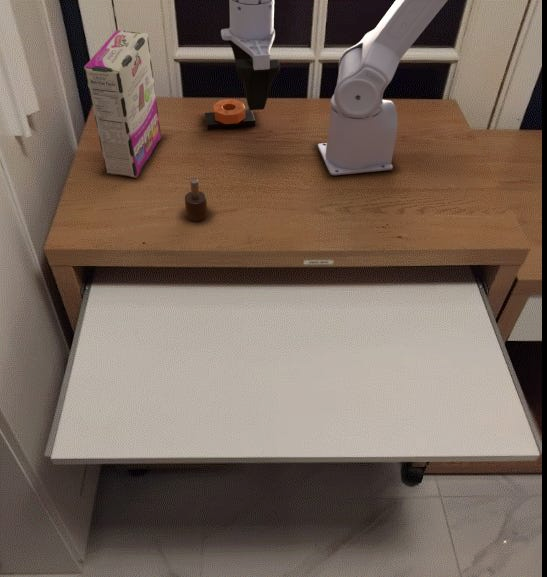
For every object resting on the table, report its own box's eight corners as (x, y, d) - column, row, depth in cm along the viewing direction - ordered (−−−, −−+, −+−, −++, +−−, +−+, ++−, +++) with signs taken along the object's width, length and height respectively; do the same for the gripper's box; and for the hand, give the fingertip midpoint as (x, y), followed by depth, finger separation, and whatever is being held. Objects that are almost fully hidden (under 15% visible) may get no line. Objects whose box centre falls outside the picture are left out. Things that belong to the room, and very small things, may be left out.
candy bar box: (131, 133, 99) (115, 28, 87) (162, 138, 98) (150, 32, 86) (103, 174, 91) (81, 65, 79) (136, 179, 90) (120, 69, 79)
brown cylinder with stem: (205, 207, 86) (203, 173, 82) (208, 220, 84) (206, 185, 80) (185, 209, 86) (182, 175, 82) (187, 222, 84) (184, 188, 80)
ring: (241, 107, 103) (241, 98, 102) (246, 122, 100) (246, 113, 99) (212, 109, 102) (211, 100, 101) (216, 125, 99) (216, 115, 98)
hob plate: (251, 114, 104) (251, 108, 103) (255, 125, 101) (255, 119, 100) (204, 118, 102) (204, 112, 102) (207, 129, 100) (207, 123, 99)
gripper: (212, -24, 85) (216, 72, 95) (229, 21, 75) (231, 123, 85) (264, -26, 86) (262, 69, 96) (287, 18, 76) (283, 119, 86)
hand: (251, 95), depth 90 cm, fingers open, 7 cm apart
